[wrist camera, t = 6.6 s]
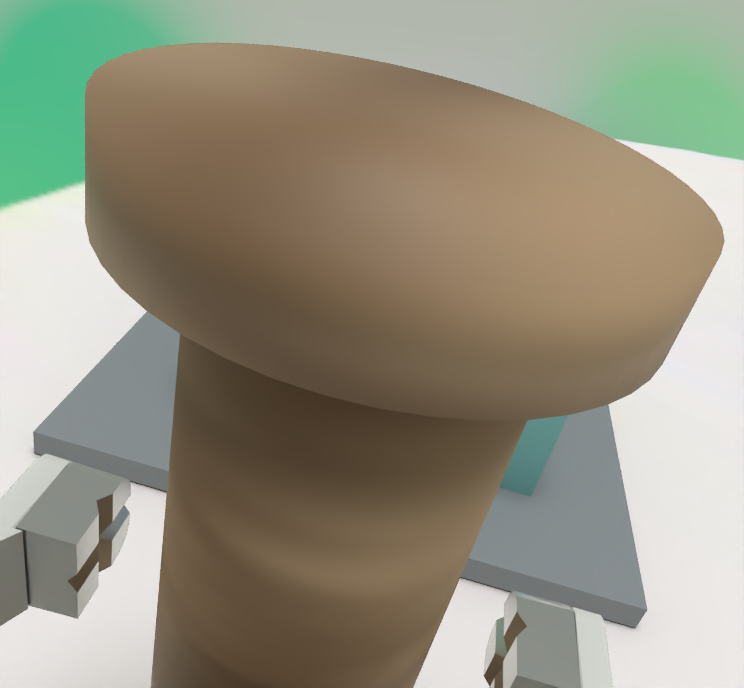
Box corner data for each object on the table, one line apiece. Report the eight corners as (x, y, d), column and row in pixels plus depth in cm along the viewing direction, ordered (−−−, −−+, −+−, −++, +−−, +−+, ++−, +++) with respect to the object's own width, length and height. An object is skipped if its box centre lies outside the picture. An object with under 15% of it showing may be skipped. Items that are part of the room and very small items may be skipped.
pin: (388, 758, 19) (661, 134, 10) (337, 1088, 14) (830, 385, 5) (162, 689, 19) (227, 19, 10) (24, 989, 14) (-94, 129, 5)
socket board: (583, 323, 43) (623, 234, 40) (635, 627, 25) (716, 507, 21) (238, 228, 44) (249, 133, 41) (34, 452, 25) (26, 311, 22)
